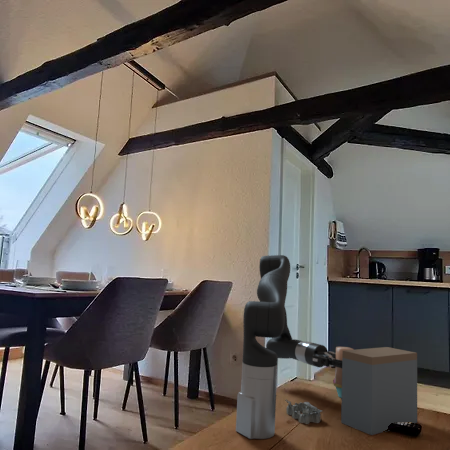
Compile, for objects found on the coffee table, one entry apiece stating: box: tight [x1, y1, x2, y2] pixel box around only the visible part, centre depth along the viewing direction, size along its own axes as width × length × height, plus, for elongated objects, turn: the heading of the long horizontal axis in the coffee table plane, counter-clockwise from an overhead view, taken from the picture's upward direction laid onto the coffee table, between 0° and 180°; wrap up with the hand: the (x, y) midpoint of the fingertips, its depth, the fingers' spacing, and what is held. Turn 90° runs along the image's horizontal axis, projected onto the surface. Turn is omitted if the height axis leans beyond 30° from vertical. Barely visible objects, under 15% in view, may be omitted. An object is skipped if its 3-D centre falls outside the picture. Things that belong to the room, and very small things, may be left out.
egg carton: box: [285, 399, 323, 425], centre depth 118 cm, size 11×8×4 cm
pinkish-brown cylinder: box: [334, 346, 355, 385], centre depth 129 cm, size 6×6×11 cm
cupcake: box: [332, 377, 342, 399], centre depth 142 cm, size 9×8×12 cm
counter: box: [340, 346, 418, 436], centre depth 118 cm, size 22×10×20 cm, turn 125°
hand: (350, 364), depth 127 cm, fingers closed on pinkish-brown cylinder, 5 cm apart
